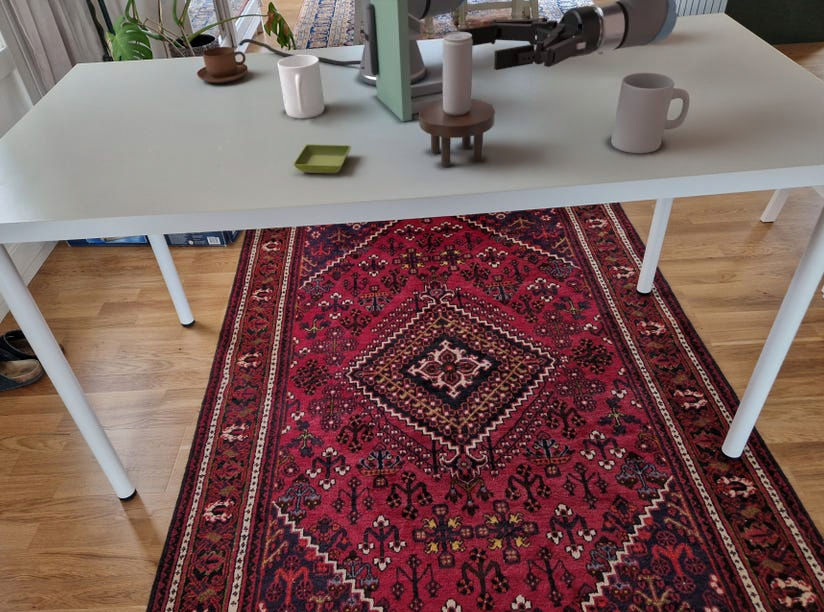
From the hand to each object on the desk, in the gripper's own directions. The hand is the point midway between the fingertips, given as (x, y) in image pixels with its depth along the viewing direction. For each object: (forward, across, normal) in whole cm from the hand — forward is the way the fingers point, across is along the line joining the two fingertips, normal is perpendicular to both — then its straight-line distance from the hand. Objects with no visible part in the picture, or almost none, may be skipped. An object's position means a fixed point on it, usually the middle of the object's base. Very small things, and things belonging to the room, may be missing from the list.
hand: (476, 49), depth 104 cm
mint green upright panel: (0, +28, -18) cm, 33 cm away
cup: (+24, +33, -18) cm, 44 cm away
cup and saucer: (+36, +66, -18) cm, 77 cm away
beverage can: (+4, 0, -10) cm, 10 cm away
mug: (-29, -11, -18) cm, 36 cm away
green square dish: (+26, +7, -18) cm, 32 cm away
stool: (+4, 0, -18) cm, 18 cm away
